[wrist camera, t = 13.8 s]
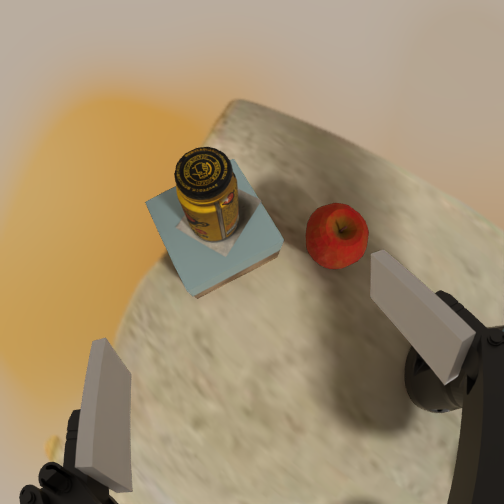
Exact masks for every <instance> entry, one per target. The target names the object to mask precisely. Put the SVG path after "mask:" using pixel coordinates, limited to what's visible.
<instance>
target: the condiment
mask: <svg viewBox="0 0 504 504" xmlns="http://www.w3.org/2000/svg"><path fill="white" fill-rule="evenodd" d="M174 175H175V181H176V192H177V197H178V200H179V202H180V204H181V206H182V208H183V211H184V213H185V215H184V217H183V218H182V219H181V221H180V222H179V224H178V225H177V226H176V228H177V229H178V230H180V231H182V232H183V233H185V234H187V235H188V236H190V237H192V238H194V239H195V240H197V241H199V242H200V243H202V244H204V245H206V246H207V247H209V248H211V249H213V250H215V251H216V252H218V253H220V254H221V255H223V256H225V257H226V256H227V255H228V253H229V252H230V250H231V248H232V247H233V245H234V244H235V242H236V240H237V239H238V237H239V236H240V234H241V233H242V231H243V229H244V228H245V226H246V224H247V223H248V221H249V220H250V218H251V217H252V215H253V214H254V212H255V210H256V209H257V207H258V205H259V204H260V202H261V201H262V200H260V199H258V198H256V197H254V196H252V195H250V194H248V193H246V192H244V191H242V190H240V189H238V186H237V179H236V176H235V174H234V172H233V169H232V164H231V161H230V160H229V159H228V157H227V156H226V155H225V154H224V153H223V152H221V151H219V150H217V149H215V148H210V147H200V148H196V149H194V150H191V151H189V152H188V153H186V154H185V155H184V156H183V157H182V158H181V159H180V160H179V162H178V163H177V165H176V170H175V173H174Z"/></svg>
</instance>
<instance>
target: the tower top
mask: <svg viewBox="0 0 504 504" xmlns="http://www.w3.org/2000/svg"><path fill="white" fill-rule="evenodd" d="M230 161H231V164H232V169H233V172H234V174H235V176H236V179H237V186H238V189H240V190H242V191H244V192H246V193H248V194H250V195H252V196H254V197H256V198H258V197H257V195H256V193H255V192H254V190H253V189H252V187H251V185H250V184H249V182H248V181H247V179H246V177H245V176H244V174H243V173H242V171H241V170H240V168H239V166H238V165H237V163H236V162H235V160H234V159H232V160H230ZM258 199H259V198H258ZM145 203H146V205H147V208H148V210H149V212H150V214H151V217H152V219H153V221H154V223H155V225H156V228H157V230H158V232H159V234H160V236H161V239H162V241H163V242H164V245H165V247H166V249H167V251H168V253H169V255H170V258H171V260H172V262H173V264H174V266H175V268H176V270H177V272H178V274H179V276H180V278H181V280H182V282H183V284H184V286H185V288H186V290H187V292H189V293H190V294H191V295H192V296H195V295H197V294H199V293H201V292H202V291H204V290H206V289H208V288H210V287H212V286H214V285H216V284H218V283H219V282H221V281H223V280H225V279H227V278H229V277H231V276H233V275H235V274H236V273H238V272H240V271H242V270H244V269H246V268H248V267H250V266H251V265H253V264H255V263H257V262H259V261H261V260H263V259H264V258H266V257H268V256H270V255H272V254H274V253H276V252H278V251H279V250H280V249H281V246H282V244H283V241H284V239H283V237H282V236H281V234H280V232H279V231H278V229H277V227H276V226H275V224H274V222H273V221H272V219H271V218H270V216H269V214H268V213H267V211H266V209H265V208H264V206H263V205H262V203H261V202H260V204H259V205H258V207H257V209H256V210H255V212H254V214H253V215H252V217H251V218H250V220H249V221H248V223H247V224H246V226H245V228H244V229H243V231H242V233H241V234H240V236H239V237H238V239H237V240H236V242H235V244H234V245H233V247H232V248H231V250H230V252H229V253H228V255H227V256H226V257H225V256H223V255H221V254H220V253H218V252H216V251H215V250H213V249H211V248H209V247H207V246H206V245H204V244H202V243H200V242H199V241H197V240H195V239H194V238H192V237H190V236H188V235H187V234H185V233H183V232H182V231H180V230H178V229H177V228H176V226H177V225H178V224H179V222H180V221H181V219H182V218H183V217H184V215H185V213H184V211H183V208H182V206H181V204H180V202H179V200H178V197H177V192H176V186H175V187H173V188H171V189H169V190H167V191H165V192H163V193H161V194H159V195H157V196H156V197H154V198H152V199H150V200H148V201H146V202H145Z"/></svg>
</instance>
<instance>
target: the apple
mask: <svg viewBox="0 0 504 504" xmlns="http://www.w3.org/2000/svg"><path fill="white" fill-rule="evenodd" d="M368 234H369V232H368V227H367V224H366V222H365V220H364V219H363V217H362V216H361V215H360V214H359V213H358V212H357V211H355V210H354V209H353V208H351V207H350V206H349V205H346V204H341V203H333V204H329V205H325V206H322V207H320V208H318V209H317V210H316V211H315V212H314V213H313V214H312V215H311V217H310V219H309V221H308V223H307V229H306V248H307V250H308V253H309V254H310V255H311V257H312V258H313V260H314V261H316V262H317V263H318V264H320V265H321V266H323V267H325V268H329V269H339V268H344V267H347V266H349V265H351V264H353V263H355V262H357V261H358V260H359V259H360V258H361V257H362V256H363V254H364V252H365V250H366V247H367V241H368Z"/></svg>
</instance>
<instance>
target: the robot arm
mask: <svg viewBox="0 0 504 504" xmlns="http://www.w3.org/2000/svg"><path fill="white" fill-rule="evenodd" d="M370 298H371V299H372V300H373V301H374V302H375V303H376V304H377V305H378V307H379V308H380V309H381V310H382V311H383V312H384V313H385V315H386V316H387V317H388V318H389V319H390V320H391V321H392V323H393V324H394V325H395V326H396V327H397V328H398V330H399V331H400V332H401V333H402V334H403V335H404V337H405V338H406V339H407V340H408V341H409V342H410V344H411V345H412V347H411V349H410V351H409V354H408V357H407V361H406V366H405V384H406V388H407V391H408V394H409V396H410V398H411V399H412V401H413V402H414V403H415V404H416V405H417V406H418V407H420V408H421V409H424V410H427V411H430V412H434V413H444V412H448V411H453V410H456V409H460V408H462V419H461V429H460V438H459V445H458V452H457V459H456V465H455V470H454V476H453V481H452V485H451V490H450V494H449V499H448V503H447V504H504V325H502V326H495V327H485V326H484V325H483V324H482V323H481V322H480V321H479V320H478V319H477V318H476V317H475V316H474V315H473V314H471V313H470V312H469V311H468V310H467V309H466V308H464V306H463V305H462V304H461V303H458V301H457V300H456V299H455V298H454V297H453V296H452V295H450V294H448V293H446V292H444V291H441V290H440V291H438V292H436V293H434V292H433V291H431V290H430V289H429V288H428V287H427V286H426V285H425V284H424V283H422V282H421V281H420V280H419V279H418V278H417V277H416V276H415V275H413V274H412V273H411V272H410V271H409V270H408V269H406V268H405V267H404V266H403V265H402V264H401V263H399V262H398V261H397V260H396V259H395V258H394V257H392V256H391V255H390V254H389V253H388V252H386V251H385V250H384V249H383V250H380V251H377V252H374V253H372V254H371V288H370ZM130 403H131V373H130V372H129V370H128V369H127V367H126V366H125V365H124V363H123V362H122V361H121V359H120V358H119V356H118V355H117V353H116V352H115V350H114V349H113V348H112V346H111V345H110V343H109V342H108V340H107V339H106V338H103V339H99V340H95V341H93V342H92V346H91V351H90V356H89V362H88V367H87V372H86V378H85V384H84V390H83V396H82V404H81V409H79V410H74V411H73V412H72V414H71V416H70V418H69V420H68V427H67V432H68V433H67V435H66V440H67V441H66V443H65V452H64V463H63V467H62V466H61V465H59V464H58V463H55V462H48V463H47V464H45V465H44V466H43V467H42V468H41V470H40V472H39V483H40V486H41V487H43V488H41V489H39V488H37V487H35V486H34V485H26V486H25V487H23V489H22V490H21V492H20V497H19V498H20V504H118V503H117V502H116V501H115V500H114V498H113V497H111V496H110V495H109V489H111V490H113V491H115V492H116V493H120V492H133V490H132V473H131V445H130Z"/></svg>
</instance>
